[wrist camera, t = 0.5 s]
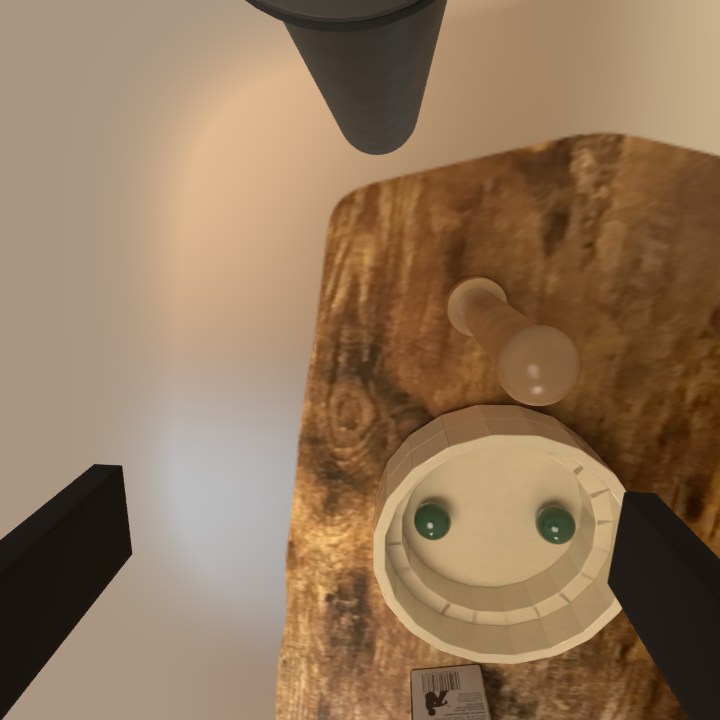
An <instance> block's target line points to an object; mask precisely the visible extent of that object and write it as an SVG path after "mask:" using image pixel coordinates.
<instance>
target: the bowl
mask: <svg viewBox="0 0 720 720" xmlns="http://www.w3.org/2000/svg"><path fill="white" fill-rule="evenodd" d="M624 492H627V491H626V490H625V488H624V487H623V485H622V484H621V482H620V481H619V479H618V478H617V476H616V475H615V474H614V473H613V472H612V470H611V469H610V468H609V467H608V466H607V465H606V464H605V463H604V462H603V460H602V459H601V458H600V457H599V456H598V455H597V454H596V453H595V451H594V450H593V449H592V448H591V447H590V446H589V445H588V444H587V443H586V441H585V440H584V439H583V438H582V437H580V436H579V435H578V434H576V433H575V432H573V431H572V430H571V429H569V428H568V427H567V426H565V425H564V424H562V423H561V422H560V421H558V420H557V419H556V418H554V417H552V416H548V415H545V414H542V413H539V412H536V411H533V410H530V409H527V408H524V407H521V406H517V405H475V406H472V407H468V408H465V409H461V410H458V411H454V412H450V413H447V414H443V415H441V416H439V417H437V418H436V419H434V420H433V421H431V422H430V423H428V424H426V425H425V426H423V427H422V428H420V429H419V430H417V431H415V432H414V433H412V434H411V435H409V436H408V438H407V439H406V440H405V441H404V443H403V444H402V445H401V446H400V447H399V449H398V450H397V451H396V452H395V453H394V455H393V456H392V457H391V458H390V460H389V461H388V463H387V464H386V467H385V470H384V472H383V475H382V478H381V481H380V483H379V486H378V489H377V491H376V499H375V516H374V534H373V569H374V573H375V575H376V578H377V581H378V583H379V586H380V589H381V591H382V594H383V597H384V599H385V602H386V604H387V605H388V606H389V607H390V608H391V610H392V611H393V612H394V613H395V614H396V616H397V617H398V618H399V619H400V620H401V622H402V623H403V624H404V625H405V626H406V628H407V629H408V630H409V631H410V632H412V633H413V634H415V635H416V636H418V637H419V638H421V639H422V640H424V641H426V642H427V643H429V644H430V645H432V646H433V647H435V648H436V649H438V650H440V651H442V652H446V653H449V654H452V655H455V656H459V657H462V658H465V659H468V660H471V661H475V662H483V663H504V664H516V663H517V664H518V663H523V662H528V661H533V660H537V659H542V658H547V657H552V656H557V655H559V654H561V653H563V652H565V651H567V650H569V649H571V648H573V647H575V646H577V645H579V644H581V643H583V642H585V641H587V640H589V639H591V638H592V637H593V636H594V635H595V634H596V633H597V632H599V631H600V630H601V629H602V628H603V627H604V626H605V625H606V624H607V623H608V622H610V621H611V620H612V619H613V618H614V617H615V616H616V615H617V614H618V613H619V612H620V611H621V609H622V607H621V605H620V604H619V602H618V600H617V599H616V597H615V595H614V594H613V592H612V590H611V589H610V587H609V585H608V584H607V581H608V576H609V571H610V565H611V560H612V555H613V549H614V544H615V538H616V533H617V528H618V522H619V517H620V512H621V506H622V501H623V496H624ZM430 501H434V502H438V503H440V504H442V505H444V506H445V507H446V508H447V510H448V511H449V513H450V516H451V521H452V523H451V528H450V531H449V532H448V534H447V535H446V536H445V537H444V538H442V539H440V540H436V541H432V540H427V539H425V538H423V537H422V536H421V535H420V534H419V533H418V532H417V530H416V528H415V525H414V515H415V512H416V510H417V509H418V507H419V506H420V505H422V504H423V503H426V502H430ZM548 505H559V506H562V507H564V508H565V509H567V510H568V511H569V512H570V513H571V514H572V516H573V517H574V520H575V523H576V531H575V534H574V536H573V538H572V539H571V540H570V541H568V542H567V543H565V544H560V545H556V544H551V543H549V542H547V541H545V540H544V539H543V538H542V537H541V536H540V535H539V534H538V532H537V529H536V526H535V519H536V516H537V513H538V512H539V511H540V510H541V509H542V508H543V507H545V506H548Z"/></svg>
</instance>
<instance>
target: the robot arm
mask: <svg viewBox="0 0 720 720" xmlns="http://www.w3.org/2000/svg"><path fill="white" fill-rule="evenodd" d="M131 555H132V547H131V538H130V530H129V521H128V514H127V504H126V495H125V488H124V478H123V470H122V466H120V465H100V464H94V465H93V466H91V467H90V468H89V469H88V470H87V471H85V472H84V473H83V474H82V475H81V476H79V477H78V478H77V479H75V480H74V481H73V482H72V483H71V484H69V485H68V486H67V487H66V488H64V489H63V490H62V491H61V492H59V493H58V494H57V495H56V496H54V497H53V498H52V499H51V500H49V501H48V502H47V503H46V504H44V505H43V506H42V507H41V508H40V509H38V510H37V511H36V512H35V513H33V514H32V515H31V516H30V517H28V518H27V519H26V520H25V521H23V522H22V523H21V524H20V525H18V526H17V527H16V528H15V529H13V530H12V531H11V532H10V533H9V534H7V535H6V536H5V537H4V538H2V539H1V540H0V720H2V719H3V717H4V716H5V715H6V714H7V712H8V711H9V710H10V709H11V707H12V706H13V705H14V704H15V702H16V701H17V700H18V699H19V697H20V696H21V695H22V693H23V692H24V691H25V690H26V688H27V687H28V686H29V685H30V683H31V682H32V681H33V679H34V678H35V677H36V676H37V674H38V673H39V672H40V671H41V669H42V668H43V667H44V665H45V664H46V663H47V662H48V660H49V659H50V658H51V657H52V655H53V654H54V653H55V651H56V650H57V649H58V648H59V646H60V645H61V644H62V642H63V641H64V640H65V639H66V637H67V636H68V635H69V634H70V632H71V631H72V630H73V629H74V627H75V626H76V625H77V623H78V622H79V621H80V620H81V618H82V617H83V616H84V614H85V613H86V612H87V611H88V610H89V608H90V607H91V606H92V604H93V603H94V602H95V601H96V599H97V598H98V597H99V595H100V594H101V593H102V592H103V590H104V589H105V588H106V586H107V585H108V584H109V583H110V582H111V580H112V579H113V578H114V576H115V575H116V574H117V572H118V571H119V570H120V569H121V567H122V566H123V565H124V564H125V562H126V561H127V560H128V559H129V557H130V556H131ZM607 584H608V585H609V587H610V589H611V590H612V592H613V594H614V595H615V597H616V599H617V600H618V602H619V604H620V605H621V607H622V609H623V610H624V612H625V614H626V615H627V617H628V619H629V620H630V622H631V624H632V625H633V627H634V629H635V630H636V632H637V634H638V635H639V637H640V639H641V640H642V642H643V644H644V645H645V647H646V649H647V650H648V652H649V654H650V655H651V657H652V659H653V660H654V662H655V664H656V665H657V667H658V669H659V670H660V672H661V674H662V675H663V677H664V679H665V680H666V682H667V684H668V685H669V687H670V689H671V690H672V692H673V694H674V695H675V697H676V699H677V700H678V702H679V704H680V705H681V707H682V709H683V710H684V712H685V714H686V715H687V717H688V719H689V720H720V559H719V558H718V557H717V556H716V555H715V554H714V553H713V552H712V551H711V550H710V549H709V548H708V547H707V546H706V545H705V544H704V543H703V542H702V541H701V540H700V539H699V538H698V537H697V536H696V534H695V533H694V532H693V531H692V530H691V529H690V528H689V527H688V526H687V525H686V524H685V523H684V522H683V521H682V520H681V519H680V518H679V517H678V516H677V515H676V514H675V513H674V512H673V511H672V510H671V509H670V508H669V507H668V506H667V505H666V504H665V503H664V502H663V501H662V500H661V499H660V498H659V497H658V496H657V495H656V494H655V493H638V492H624V496H623V501H622V506H621V512H620V517H619V522H618V528H617V533H616V538H615V544H614V549H613V555H612V560H611V565H610V571H609V576H608V581H607Z"/></svg>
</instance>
